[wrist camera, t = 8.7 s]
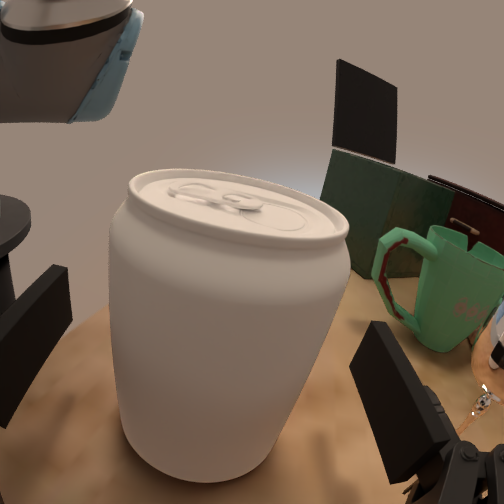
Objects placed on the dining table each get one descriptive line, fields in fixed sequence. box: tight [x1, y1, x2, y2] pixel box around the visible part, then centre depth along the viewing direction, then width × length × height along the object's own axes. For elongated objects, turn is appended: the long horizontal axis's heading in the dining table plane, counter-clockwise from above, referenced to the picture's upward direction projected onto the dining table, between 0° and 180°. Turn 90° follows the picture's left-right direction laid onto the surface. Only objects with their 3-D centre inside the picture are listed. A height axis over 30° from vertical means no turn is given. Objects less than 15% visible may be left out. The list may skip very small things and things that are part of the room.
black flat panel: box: [332, 59, 397, 164], centre depth 44 cm, size 15×14×1 cm
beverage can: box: [109, 169, 351, 483], centre depth 12 cm, size 8×8×12 cm
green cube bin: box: [320, 149, 455, 279], centre depth 42 cm, size 14×14×14 cm
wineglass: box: [456, 290, 504, 437], centre depth 11 cm, size 6×6×12 cm
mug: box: [371, 225, 504, 353], centre depth 25 cm, size 15×10×10 cm
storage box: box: [427, 175, 504, 256], centre depth 48 cm, size 39×23×15 cm, turn 113°
